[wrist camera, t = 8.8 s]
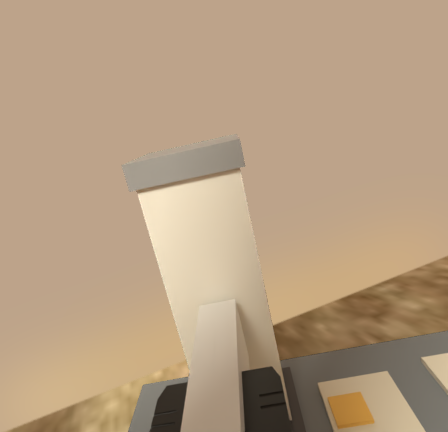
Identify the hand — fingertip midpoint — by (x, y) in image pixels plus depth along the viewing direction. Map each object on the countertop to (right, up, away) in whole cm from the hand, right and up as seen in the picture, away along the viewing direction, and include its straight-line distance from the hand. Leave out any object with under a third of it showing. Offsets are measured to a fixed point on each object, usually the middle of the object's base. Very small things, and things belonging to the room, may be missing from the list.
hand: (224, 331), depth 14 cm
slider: (+1, -5, +4) cm, 6 cm away
